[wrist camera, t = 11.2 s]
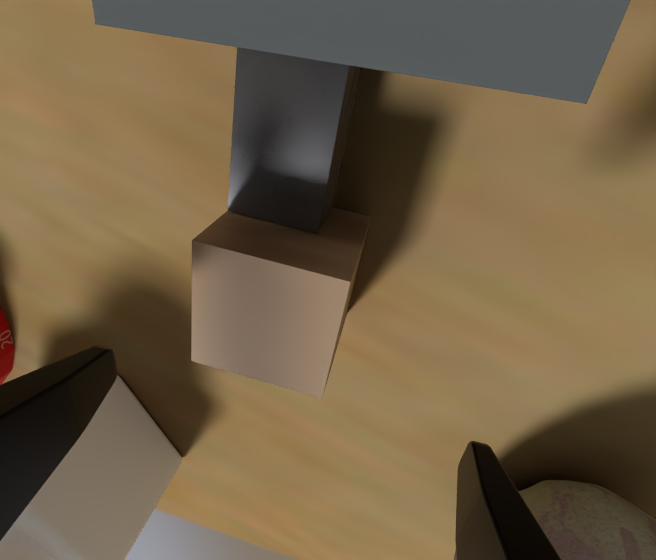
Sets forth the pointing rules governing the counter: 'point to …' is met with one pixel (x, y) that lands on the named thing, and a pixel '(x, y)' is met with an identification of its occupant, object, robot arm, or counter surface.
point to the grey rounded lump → (590, 522)
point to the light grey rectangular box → (98, 488)
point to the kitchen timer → (5, 348)
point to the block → (274, 296)
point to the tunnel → (405, 35)
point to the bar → (289, 136)
